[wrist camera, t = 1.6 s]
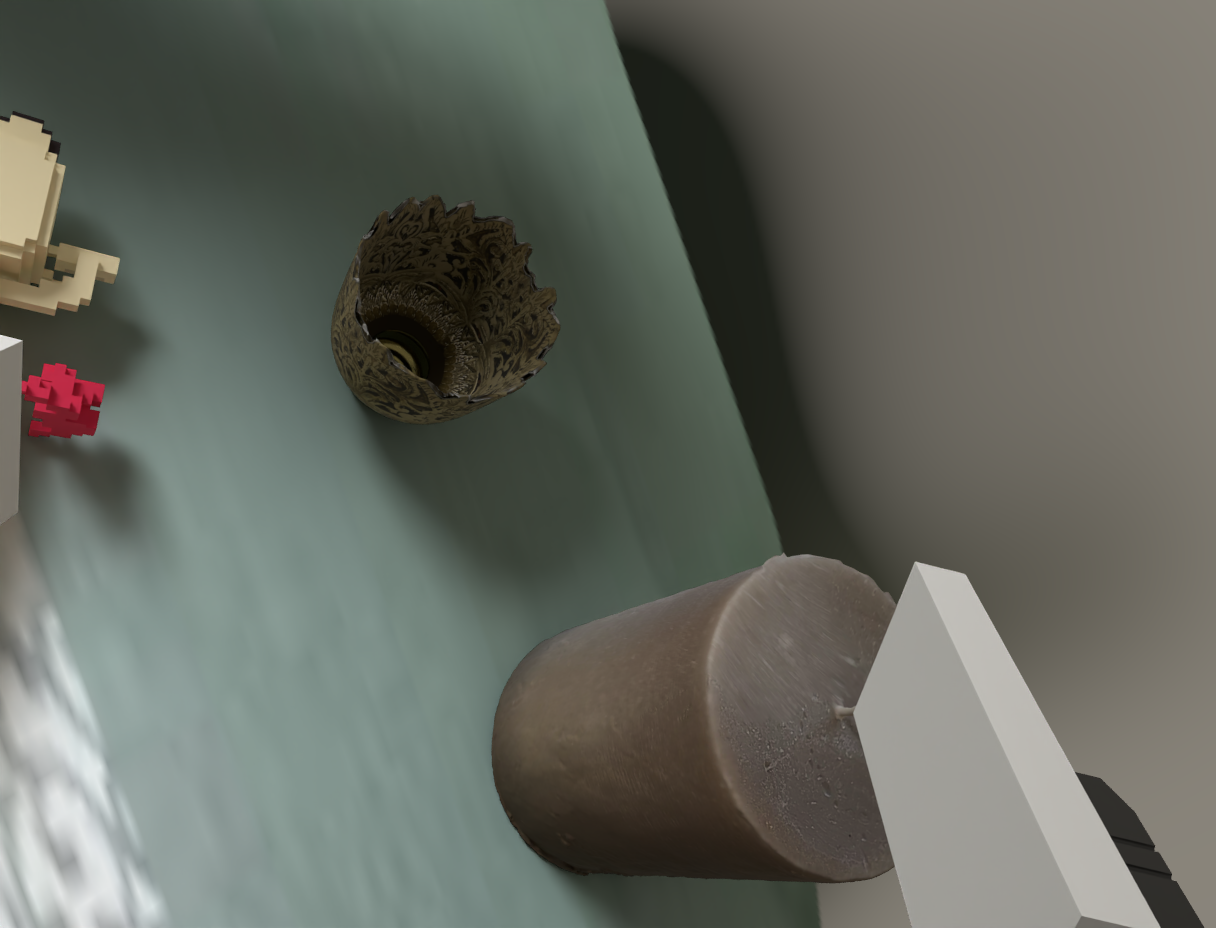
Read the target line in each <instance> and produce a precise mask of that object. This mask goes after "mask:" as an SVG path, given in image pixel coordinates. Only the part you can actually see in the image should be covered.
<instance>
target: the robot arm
mask: <svg viewBox="0 0 1216 928" xmlns="http://www.w3.org/2000/svg"><path fill="white" fill-rule="evenodd" d="M22 356H23V340H19V339H15V338H11V337H7V336H3V335H0V525H1V524H3V523H4V522H5V521H7V520H8V519H9V518H11V517H12V516H14V515H15V514H16V513H18V505H19V467H20V430H21V393H22ZM853 714H854V718H855V722H856V725H857V729H858V733H859V736H860V740H861V744H862V747H863V751H864V755H865V758H866V762H867V766H868V769H869V773H870V777H871V780H872V784H873V788H874V791H875V795H876V799H877V802H878V806H879V810H880V813H881V817H882V821H883V824H884V828H885V832H886V835H887V839H888V843H889V846H890V850H891V854H892V857H893V861H894V865H895V868H896V872H897V876H898V879H899V883H900V887H901V890H902V894H903V898H904V901H905V905H906V909H907V912H908V916H909V920H910V923H911V927H912V928H1204V926H1203V925H1202V923H1201V921H1200V920H1199V918H1198V916H1197V915H1196V913H1195V911H1194V910H1193V908H1192V906H1191V905H1190V903H1189V901H1188V900H1187V898H1186V896H1185V895H1184V893H1183V892H1182V890H1181V888H1180V887H1179V885H1178V883H1177V882H1176V881H1173V880H1171V876H1172V873H1171V872H1170V870H1169V868H1168V867H1167V865H1166V863H1165V862H1164V860H1163V858H1162V857H1161V855H1160V854H1159V853H1158V852H1154V848H1155V845H1154V843H1153V842H1152V840H1151V838H1150V837H1149V835H1148V833H1147V832H1146V830H1145V828H1144V827H1143V825H1142V823H1141V822H1140V820H1139V819H1138V817H1137V815H1136V813H1135V812H1134V811H1133V810H1132V809H1131V808H1130V807H1129V806H1128V805H1127V804H1126V803H1125V802H1124V801H1123V800H1122V799H1121V798H1120V797H1119V796H1118V795H1117V794H1116V793H1115V792H1114V791H1113V790H1112V789H1111V788H1110V787H1109V786H1108V785H1106V783H1105V782H1103V780H1102V779H1100V778H1097V777H1093V776H1089V775H1085V774H1081V773H1076V772H1074V770H1073V768H1072V766H1071V765H1070V763H1069V761H1068V759H1067V757H1066V756H1065V754H1064V752H1063V750H1062V748H1061V746H1060V745H1059V743H1058V741H1057V739H1056V737H1055V736H1054V734H1053V732H1052V730H1051V729H1050V727H1049V725H1048V723H1047V721H1046V719H1045V718H1044V716H1043V714H1042V712H1041V710H1040V709H1039V707H1038V705H1037V703H1036V701H1035V699H1034V698H1033V696H1032V694H1031V692H1030V690H1029V689H1028V687H1027V685H1026V683H1025V681H1024V680H1023V678H1022V676H1021V674H1020V672H1019V671H1018V669H1017V667H1016V665H1015V663H1014V661H1013V660H1012V658H1011V656H1010V655H1009V652H1008V651H1007V649H1006V647H1005V645H1004V643H1003V642H1002V640H1001V638H1000V636H999V634H998V633H997V631H996V629H995V627H994V625H993V623H992V622H991V620H990V618H989V616H988V614H987V613H986V611H985V609H984V607H983V605H982V604H981V602H980V600H979V598H978V596H977V595H976V593H975V591H974V589H973V587H972V585H971V584H970V582H969V580H968V578H967V576H966V575H965V574H963V573H959V572H955V571H951V570H947V569H942V568H938V567H935V566H930V565H927V564H923V563H919V562H915V563H914V566H913V568H912V571H911V573H910V576H909V578H908V580H907V583H906V585H905V588H904V590H903V593H902V595H901V597H900V600H899V602H898V605H897V607H896V610H895V612H894V615H893V617H892V619H891V622H890V624H889V627H888V629H887V632H886V634H885V637H884V639H883V641H882V644H881V646H880V649H879V651H878V654H877V656H876V659H875V661H874V663H873V666H872V668H871V671H870V673H869V676H868V678H867V681H866V683H865V686H864V688H863V690H862V693H861V695H860V698H859V700H858V703H857V705H856V708H855V710H854V712H853Z"/></svg>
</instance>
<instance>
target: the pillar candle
mask: <svg viewBox="0 0 1216 928" xmlns="http://www.w3.org/2000/svg"><path fill="white" fill-rule="evenodd" d="M896 607H897V605H896V604H895V603H894V600H893V598H892V597H891V596H890V594H889V593H888V592H886V593H885V592H882V591H881V589H880V588H879V587H878V586H877V585H876V583H875V581H873V579H871V578H870V577H869V576H868V575H865V574H862V573H860V572H858V571H857V570H855V569H853V568H851V567H848V566H846V565H843V564H842V562H841V561H839V560H834V559H829V558H824V557H818V556H814V555H809V554H806V555H797V556H791V557H787V556H786V555H785V553H783V554H782V555H781V556H777V555H775V556H774V557H772V558H770V559H769V560H767V561H766V562H765V563H764V565H763V566H759V567H756V568H752V569H749V570H746V571H743V572H740V573H736V574H734V575H731V576H729V577H727V578H724V579H721V580H717V581H715V582H708V583H707V584H705V585H702V586H698V587H696V588H691V589H688V590H685V591H682V592H679V593H677V594H674V595H671V596H668V597H665V598H661V599H658V600H655V601H653V602H649V603H646V604H643V605H639V606H637V607H633V608H630V609H627V610H624V611H622V612H620V613H617V614H613V615H610V616H608V617H604V618H601V619H597V620H594V621H592V622H589V623H586V624H583V625H580V626H577V627H574V628H572V629H568V630H565V631H563V632H561V633H559V634H557V635H556V636H554V637H553V638H550V639H546V640H544V641H542V642H541V643H540V644H538V645H537V646H536V647H535V648H534V649H533V650H532V651H531V652H530V653H528V654H527V655H526V656H525V657H524V659H523V660H522V661H521V662H520V663H519V664H518V666H517V667H516V669H515V670H514V671H513V673H512V675H511V677H510V678H509V679H508V682H507V684H506V686H505V687H504V689H503V692H502V694H501V697H500V700H499V704H498V707H497V711H496V714H495V720H494V729H493V737H492V767H493V775H494V781H495V786H496V789H497V792H498V793H499V796H500V801H501V803H502V805H503V807H504V810H505V811H506V813H507V815H508V817H509V819H510V822H511V823H512V825H514V826H515V827H517V828H518V833H520V834H521V837H522V838H523V839H524V840H525V841H526V842H527V844H528V845H530V846H531V847H532V848H533V849H534V850H535V851H536V852H537V853H538V854H539V855H541V856H542V857H544V858H546V859H547V860H549V862H552V863H554V864H555V865H557V866H558V867H560V868H562V869H565V870H567V871H570V872H573V873H576V874H579V875H583V876H585V875H588V874H589V873H592V874H595V873H604V874H608V873H609V874H613V873H614V874H617V875H623V876H636V875H638V876H667V877H687V878H704V879H737V880H747V879H748V880H767V881H795V882H817V883H842V882H843V883H844V882H855V881H862V880H868V879H872V878H874V877H877V876H880V875H881V874H883V873H885V872H887V871H889V870H890V869H892V868H893V867H895V865H894V861H893V857H892V854H891V850H890V846H889V843H888V839H887V835H886V832H885V828H884V824H883V821H882V817H881V813H880V810H879V806H878V802H877V799H876V795H875V791H874V788H873V784H872V780H871V777H870V773H869V769H868V766H867V762H866V758H865V755H864V751H863V747H862V744H861V740H860V736H859V733H858V729H857V725H856V722H855V718H854V714H853V712H854V710H855V708H856V705H857V703H858V700H859V698H860V695H861V693H862V690H863V688H864V686H865V683H866V681H867V678H868V676H869V673H870V671H871V668H872V666H873V663H874V661H875V659H876V656H877V654H878V651H879V649H880V646H881V644H882V641H883V639H884V637H885V634H886V632H887V629H888V627H889V624H890V622H891V619H892V617H893V615H894V612H895V610H896Z"/></svg>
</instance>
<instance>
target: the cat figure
mask: <svg viewBox="0 0 1216 928" xmlns="http://www.w3.org/2000/svg"><path fill="white" fill-rule="evenodd" d="M43 126H44V121H43V120H40V119H37V118H34V117H31V116H27V115H24V114H21V113H18V112H15V111H13V113H12V115H11V118H10V119H9V118H6V117H3V116H0V303H1V304H5V305H10V306H14V307H18V308H23V309H27V310H31V311H35V312H40V313H44V314H48V315H53V316H55V312H56V307H57V308H61V309H65V310H70V311H74V312H77V310H78V307H79V304H82V305H86V306H89V304H90V301H91V296H92V292H93V287H94V282H95V280H98V281H102V282H106V283H110V284H114V281H115V278H116V275H117V271H118V266H119V261H120V258H117V257H113V256H109V255H106V254H102V253H98V252H94V251H90V250H87V249H83V248H79V247H75V246H72V245H68V244H64V243H60V245H59V247H58V246H54V245H50V241H51V236H52V232H53V228H54V223H55V219H56V214H57V209H58V205H59V200H60V195H61V190H62V184H63V179H64V173H65V168H66V166H64V165H61V164H58V163H57V160H58V155H59V151H60V145H61V143H59V142H56V141H53V140H51V139H52V132H51V131H48V130H45V129H43ZM47 256H50V257H54V258H56V263H55V268H54V269H55V270H59V271H63V272H67V273H71V274H74V278H72V277H68V276H63V280H62V281H58V280H54V279H52V278H53V274H54V271H52V270H48V269H44V267H45V263H46V258H47ZM30 283H35V284H39V287H35V286H31V285H30ZM66 367H67V365H64V364H59V363H56V364H55V366H54V365H50V364H45V363H44V366H43V371H42V375H41V377H37V376H32V375H29V380H28V382H26V381H22V393H21V394H25V398H24V400H27V401H32V402H35V407H34V411H33V416H32V417H33V418H39V419H43V421H42V422H40V421H35V420H31V425H30V429H29V434H28V435H29V436H34V437H39V435H41V436H47V437H49V436H50V435H54V436H59V437H64V438H71V435H72V434H73V435H78V436H82V435H83V434H86V435H91V436H93V435H94V433H95V431H96V428H97V423H98V418H99V413H100V411H95V410H90V407H91V406H96V407H100V405H101V403H102V398H103V393H104V388H105V385H104V384H99V383H94V382H89V381H85V380H80V379H75V378H76V377H75V376H76V371H77V370H73V369H69V368H66Z"/></svg>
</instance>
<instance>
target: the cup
mask: <svg viewBox="0 0 1216 928" xmlns="http://www.w3.org/2000/svg"><path fill="white" fill-rule="evenodd" d="M475 210H476V208H475V202H474V201H472V200H471V201H466V202H464V203H459V204H458V205H457V206H456V207H455V208H453V209H452V210H450V211H449V212H447V211H446V205H445V203H443V201H442V199H441V197H440V196H438V195H432V196H430V197H428V198H427V199H426V200H425V201H420V202H419V201H418V200H416V199H415V197H411V198H408V199H407V200H405V201H404V202H402V203H401V204H400V205H399V206H398V207H397V208H396V209H395V210H394V211H393V213H392V214H391V215H390V216H389V212H388V211H386V210H384V211H382V212H381V213H380V214H379V216H378V217H377V218H376V220H375V222H374V224H373V226H372V228H371V229H370V231H369V232H368V233H367V234H365V235H364V236H363V238H362V239H361V241H360V244H359V246H358V250H357V253H356V255H355V257H354V259H353V261H352V264H351V266H350V268H349V270H348V273H347V275H346V277H345V280H344V282H343V285H342V287H341V290H340V292H339V295H338V298H337V301H336V304H335V308H334V312H333V317H332V326H331V343H332V350H333V354H334V358H335V361H336V364H337V367H338V369H339V371H340V373H341V375H342V377H343V379H344V381H345V382H346V384H347V385H348V387H349V388H350V389H351V391H352V392H353V393H354V395H355V396H356V397H357V398H358V399H359V400H360V401H361V402H362V403H363V404H365V405H366V406H368V407H370V408H371V409H373V410H374V411H376V412H378V413H379V414H381V415H383V416H386V417H388V418H390V419H393V420H397V421H401V422H405V423H410V424H434V423H441V422H445V421H449V420H453V419H456V418H459V417H461V416H464V415H466V414H469V413H471V412H473V411H476V410H478V409H480V408H482V407H484V406H486V405H488V404H490V403H492V402H494V401H496V400H498V399H500V398H502V397H505V396H507V395H509V394H511V393H513V392H515V391H516V390H518V389H520V388H522V387H523V386H524V385H525V384H526V382H525V381H526V380H528V379H529V378H531V377H533V376H535V375H536V374H537V373H538V372H539V371H540V370H541V369H542V368H543V367H544V366H545V365H546V364H547V363H546V362H545V361H544V360H542V359H543V358H544V356H545V354H546V353H547V352H548V351H549V350H550V349H551V348H552V346H553V344H554V342H555V340H556V338H557V336H558V333H559V331H560V322H559V320H558V319H557V317H556V314H555V313H554V311H553V309H552V307H553V306H554V305H555V303H556V301H557V297H556V290H555V289H554V288H552V287H544V288H541V289H540V290H538V289H539V288H537V286H536V284H535V274H534V273H533V272H531V271H530V270H529V268H528V267H527V264H528V258H529V256H530V254H531V253H532V247H531V245H530V244H529V243H527V242H521V243H518V244H517V242H516V233H515V225H514V223H513V222H512V220H510V219H508V218H506V217H503V216H490V217H486V218H480V217H477V216H475V213H476V212H475Z"/></svg>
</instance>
